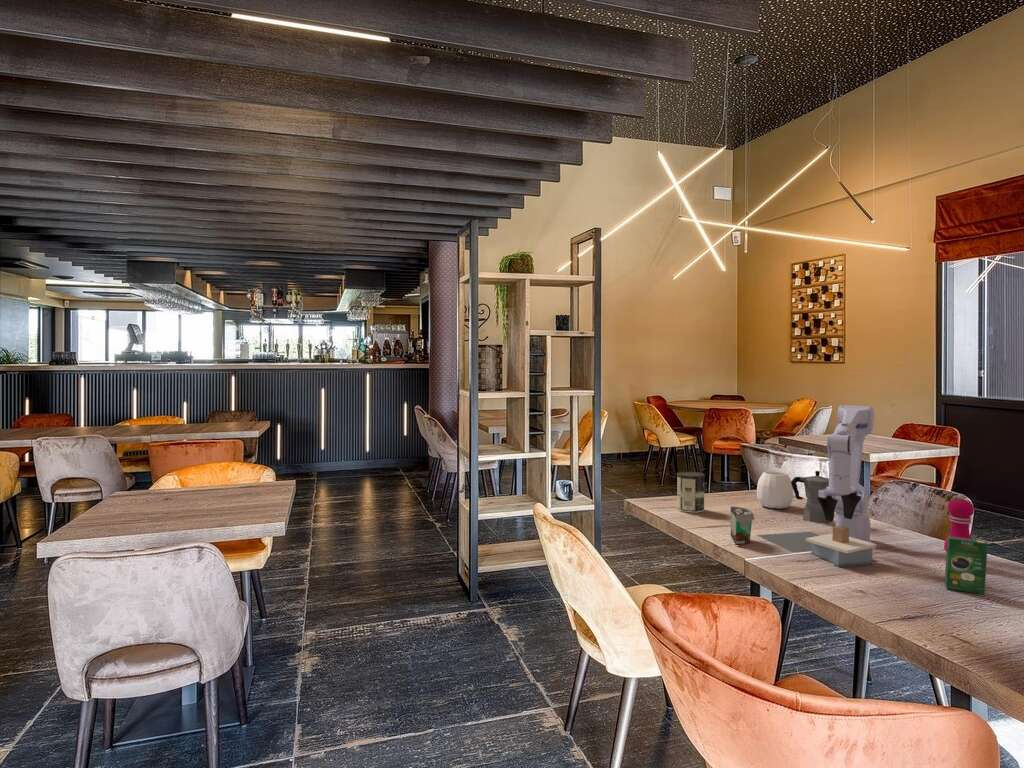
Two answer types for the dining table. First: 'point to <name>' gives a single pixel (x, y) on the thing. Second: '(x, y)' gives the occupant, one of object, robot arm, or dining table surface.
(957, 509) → the pepper mill
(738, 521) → the food container
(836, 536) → the lid
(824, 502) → the robot arm
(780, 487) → the white vase
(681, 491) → the coffee can
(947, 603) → the dining table surface
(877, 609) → the dining table surface
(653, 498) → the dining table surface
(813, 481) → the coffeepot
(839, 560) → the dish
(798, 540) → the mat
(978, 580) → the coffee box
